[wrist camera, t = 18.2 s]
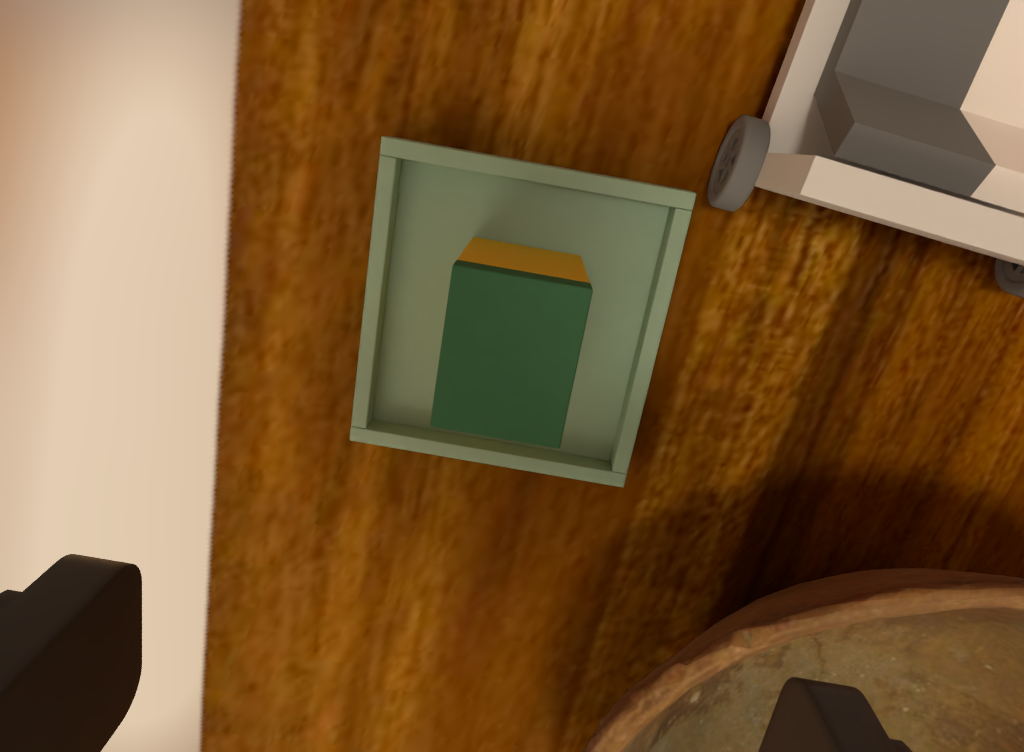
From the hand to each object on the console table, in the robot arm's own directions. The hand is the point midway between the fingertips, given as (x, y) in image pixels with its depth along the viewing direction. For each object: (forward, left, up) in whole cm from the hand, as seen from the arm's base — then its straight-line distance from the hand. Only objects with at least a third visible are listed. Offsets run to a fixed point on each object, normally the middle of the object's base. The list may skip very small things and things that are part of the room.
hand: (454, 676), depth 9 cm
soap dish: (0, 0, -19) cm, 19 cm away
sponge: (0, 0, -19) cm, 19 cm away
